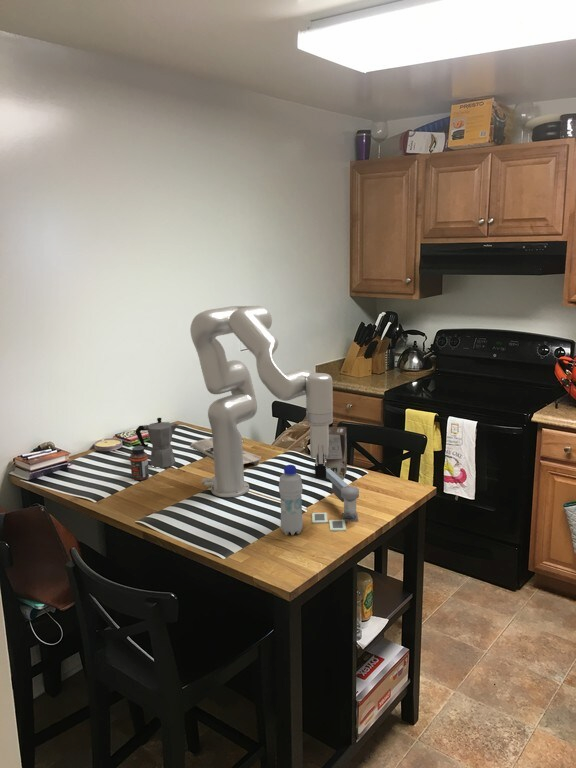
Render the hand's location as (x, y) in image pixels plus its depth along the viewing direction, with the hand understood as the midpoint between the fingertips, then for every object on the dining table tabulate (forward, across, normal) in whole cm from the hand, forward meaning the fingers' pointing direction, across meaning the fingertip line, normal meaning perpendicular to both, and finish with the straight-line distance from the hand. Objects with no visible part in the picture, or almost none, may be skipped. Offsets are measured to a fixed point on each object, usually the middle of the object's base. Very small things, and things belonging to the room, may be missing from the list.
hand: (320, 477), depth 181 cm
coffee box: (+13, -34, +6) cm, 37 cm away
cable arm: (+10, -7, +6) cm, 14 cm away
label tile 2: (+13, +5, +4) cm, 15 cm away
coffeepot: (+13, -47, -58) cm, 76 cm away
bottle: (+13, +8, -9) cm, 18 cm away
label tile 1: (+13, 0, 0) cm, 13 cm away
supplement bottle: (+13, -34, -62) cm, 72 cm away
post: (+13, 0, +8) cm, 16 cm away
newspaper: (+14, -56, -35) cm, 67 cm away
